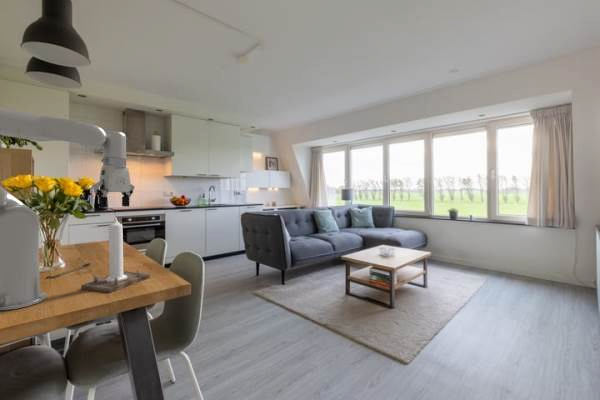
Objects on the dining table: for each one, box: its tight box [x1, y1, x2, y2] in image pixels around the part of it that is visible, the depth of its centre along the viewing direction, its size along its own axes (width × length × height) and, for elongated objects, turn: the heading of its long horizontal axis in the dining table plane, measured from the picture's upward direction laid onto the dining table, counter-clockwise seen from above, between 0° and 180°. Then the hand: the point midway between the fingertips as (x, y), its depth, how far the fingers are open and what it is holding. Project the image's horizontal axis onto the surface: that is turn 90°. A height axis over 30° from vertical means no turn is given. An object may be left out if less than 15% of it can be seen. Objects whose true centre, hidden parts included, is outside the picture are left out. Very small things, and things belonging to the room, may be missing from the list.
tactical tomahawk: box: [46, 262, 91, 280], centre depth 125 cm, size 21×7×1 cm, turn 176°
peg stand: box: [80, 269, 151, 294], centre depth 110 cm, size 18×14×4 cm
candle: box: [106, 216, 127, 282], centre depth 109 cm, size 7×7×25 cm
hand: (114, 206), depth 108 cm, fingers open, 9 cm apart
